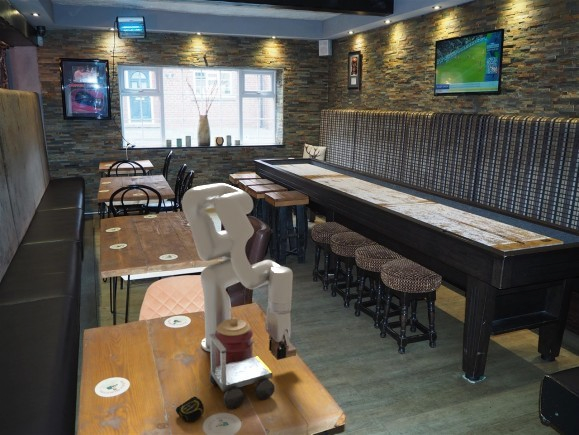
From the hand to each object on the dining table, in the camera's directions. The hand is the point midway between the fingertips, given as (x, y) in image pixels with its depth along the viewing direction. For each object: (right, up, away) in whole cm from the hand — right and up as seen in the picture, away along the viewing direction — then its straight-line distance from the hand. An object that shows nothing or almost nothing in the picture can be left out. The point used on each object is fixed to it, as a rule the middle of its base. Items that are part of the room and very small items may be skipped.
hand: (277, 353), depth 161 cm
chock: (+2, -1, +1) cm, 2 cm away
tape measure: (-24, -11, -20) cm, 33 cm away
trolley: (-11, -9, -11) cm, 18 cm away
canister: (-15, -6, +5) cm, 17 cm away
